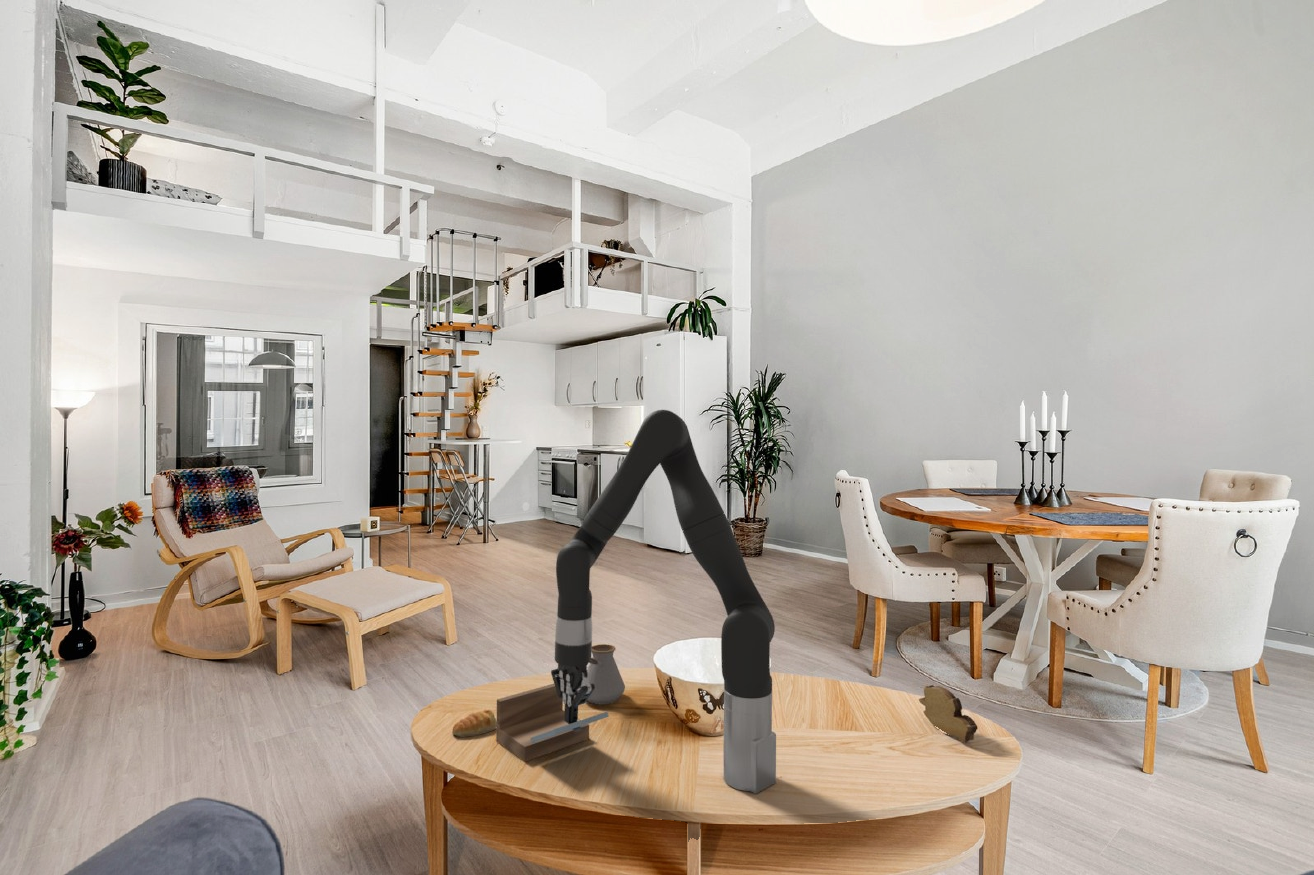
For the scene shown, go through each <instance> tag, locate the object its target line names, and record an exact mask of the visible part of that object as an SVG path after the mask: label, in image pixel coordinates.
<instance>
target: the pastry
mask: <svg viewBox="0 0 1314 875" xmlns="http://www.w3.org/2000/svg"><path fill="white" fill-rule="evenodd" d="M496 726H497V717H496V716H495V713H494V712H493V711H492V709H486V708H485V709H484V710H483V711H477V712H472V713H469V714H468V716H466V717H464V718H463V719H462V718H461V719H460V720H459V721H458V722H456V723H455V724H454V725H453V727H452V732H451V733H452V734H453V735H455V736H457V737H461V738H465V736H466V737H472V736H473V737H475V736H479V735H482V734H485V733H489V731H490V732H492V731H494V730H496Z"/></svg>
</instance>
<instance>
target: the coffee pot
mask: <svg viewBox="0 0 1314 875" xmlns="http://www.w3.org/2000/svg"><path fill="white" fill-rule="evenodd" d="M615 652H616V647H615V646H614V645H612V644H605V643H604V644H602V643H600V644H596V645H592V653H591V655H592V657H591V661H590V662H589V663H588V666H587V672H588V677H587V680H588V682H589V684H594V686H595V689H594V690H593V692H592V693H591V695H590V696H589V698H588V700H587V702H589V703H591V704H593V703H595V705H609V703H610V704H613V703H615V702H616V701H618V699H620V698H621V697H622V695H623V694H624V692H625V689H626V685H625V683H624V680H623V678H622V674H621V672H620V670H619V667H618V664H617V663H616V660H615V658H614V653H615Z"/></svg>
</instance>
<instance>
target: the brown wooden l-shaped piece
mask: <svg viewBox="0 0 1314 875" xmlns="http://www.w3.org/2000/svg"><path fill="white" fill-rule="evenodd" d="M563 704H564V703H563V699H562V698H559V697H558V694H557V690H556V687H555V684H554V683H552V684H548V685H543V686H540V687H537V688H536V687H535V688H534V689H529V690H526V691H523V692H519V693H514V694H512V695H507V696H504V697H500V698H497V699H496V722H497V726H496V728H495V730H496V732H495V733H496V737H495V738H496V740H495V741H496V742H497V743H498V744H500V745H501V746H503V747H504V748H505V749H507V751H509V752H510V753H512V754H513V755H514V756H516V757H517V758H518V759H520V760H521V761H523V762H528V761H531V760H533V759H536V758H539V757H542V756H544V755H548V754H551V753H553V752H555V751H559V750H561V749H564V748H567V747H569V746H572V745H575V744H578V743H581V742H584V741H586V740H588V739H590V723H589V724H586V725H583V726H580V727H581V731H578V732H575V733H574V732H573V729H572V730H569V731H566V732H563V733H560V734H557V735H554V736H551V737H548V738H545V739H542V740H539V741H536V742H533V743H531V739H530V738H532V737H534V736H537V735H540V734H543V733H545V732H548V731H551V730H553V729H556V728H559V727H562V726H565V725H568V723H566V722H565V716H564V713H565V709H564V710H563V707H564V706H563ZM580 720H581V719H579V718H578V719H577V721H580Z"/></svg>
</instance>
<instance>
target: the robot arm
mask: <svg viewBox="0 0 1314 875" xmlns="http://www.w3.org/2000/svg"><path fill="white" fill-rule="evenodd" d="M659 465H660V466H661V468H662V470H663V473H664V474H665V476H666V478H667V481H668V484H669V486H670V490H671V494H672V498H673V504H674V508H675V513H676V515H677V519H678V523H679V525H680V528H681V531H682V533H683V536H684V538H685V540H686V542H687V545H688V547H689V549H690V551H691V553H692V555H693V557H694V558H695V560H696V561H697V563H698V564H699V565H700V566H701V567H702V569H703V570H704V572H705V573H706V574H707V575H708V578H710V579H711V581H712V582H713V584H714V585H715V587H716V588H717V591H718V593H719V595H720V598H721V601H722V603H723V606H724V608H725V609H724V610H725V612H726V615H727V617H726V618H725V620H724V622H723V624H722V627H721V639H720V640H721V641H720V644H721V645H720V647H721V648H720V649H721V651H720V652H721V675H722V678H723V686H724V687H723V697H724V698H723V781H724V782H725V783H726V784H727V785H728V786H730V787H732V788H734V789H736V790H740V791H744V792H745V791H746V792H752V793H753V794H758V793H760V792H761V791H763V790H765V789H767V788H769V787H771V786H772V785H774V784H776V783H777V782H776V780H777V734H776V732H774V731H773V730H772V729H773V728H772V727H773V718H772V717H773V678H772V675H771V671H770V668H771V667H770V664H771V663H770V661H771V660H770V657H771V656H770V655H771V654H770V651H771V648H770V645H771V642H772V640H773V638H774V635H775V631H776V630H775V628H776V626H775V620H774V617H773V615H772V613H771V611H770V609H769V607H768V606H767V604H766V602H765V600H764V599H763V597H762V596H761V594H760V592H759V590H758V588H757V587H756V585H755V583H754V581H753V580H752V577H751V575H750V573H749V570H748V568H747V566H746V562H745V560H744V556H743V555H742V551H741V548H740V547H739V545H738V542H737V540H736V537H735V535H734V531H733V529H732V527H731V525H730V522H729V521H728V520H729V519H728V518H727V515H726V514H725V511H724V509H723V507H722V506H721V503H720V501H719V499H718V497H717V495H716V493H715V492H714V490H713V488H712V486H711V484H710V483H709V480H708V479H707V477H706V476H705V474H704V472H703V470H702V468H701V465H700V463H699V459H698V457H697V454H696V452H695V448H694V445H693V442H692V439H691V435H690V432H689V429H688V426H687V423H686V422H685V421H684V420H683V418H682V417H681V416H680V415H678V414H677V413H674V412H673V411H671V410H669V409H658V410H655V411H652V412H650V413H649V414H648V415H647V416H646V417H645V418H644V420H643V421H642V423H641V425H640V427H639V430H638V431H637V433H636V436H635V438H634V440H633V442H632V443H631V446H630V448H629V450H628V451H627V453H626V455H625V456H624V459H623V460H622V462H621V464H620V465H619V467H618V469H617V470H616V472H615V473H614V474H613V476H612V478H611V479H610V481H609V482H608V484H607V485H606V486H605V487H604V489H603V491H602V492H601V493H600V494H599V496H598V498H597V499H596V500H595V502H594V503H593V505H592V506H591V508H590V509H589V510H588V512H587V513H586V515H585V516H584V518H583V520H582V524H581V526H580V527H579V528H578V530H577V531H576V533H575V534H574V535H573V537H572V538H571V539H570V540H569V541H568V543H567V544H566V545H564V546H563V547H562V548H561V549H560V550H559V551H558V554H557V556H556V562H555V564H556V565H555V569H556V570H555V574H556V577H555V578H556V584H557V585H556V586H557V592H558V598H557V610H556V611H557V614H556V615H557V616H556V617H557V619H556V623H555V637H554V640H555V641H554V662H555V663H556V664H557V668H555V669H551V671H550V674H551V676H552V677H551V678H552V681H553V684H555V687H556V690H557V694H558V697H559V698H562V699H563V704H564V711H565V713H564V716H565V722H566V723H568V724H571V723H574V722H577V719H579V717H578V716H579V706H580V705H581V706H582V705H585V704H586V702H588V698H589V696H590V695H591V693H592V692H593V690H594V689H595V686H594V684H589V682H588V680H587V677H588V672H587V669H588V668H587V667H588V665H589V664H590V663H589V662H590V661H591V658H592V646H593V620H592V613H593V596H592V595H593V594H592V591H591V589H590V580H591V579H590V577H591V576H590V574H591V569H592V567H593V566H594V565H595V563H596V561H597V560H598V558H599V556H600V555H601V554H602V551H603V550H604V549H605V547H606V545H607V543H608V542H609V541H610V540H611V538H612V537H613V536H614V535H615V534H616V533H617V531H618V529H619V528H620V527H621V525H623V522H624V521H625V520H626V519H627V517H628V515H629V514H630V512H631V510H632V509H633V507H634V505H635V504H636V501H637V499H638V497H639V495H640V493H641V491H642V489H643V487H644V486H645V485H646V482H647V481H648V480H649V477H650V476H651V475H652V473H653V472H654V471H655V469H656V468H657V467H658V466H659Z"/></svg>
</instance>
